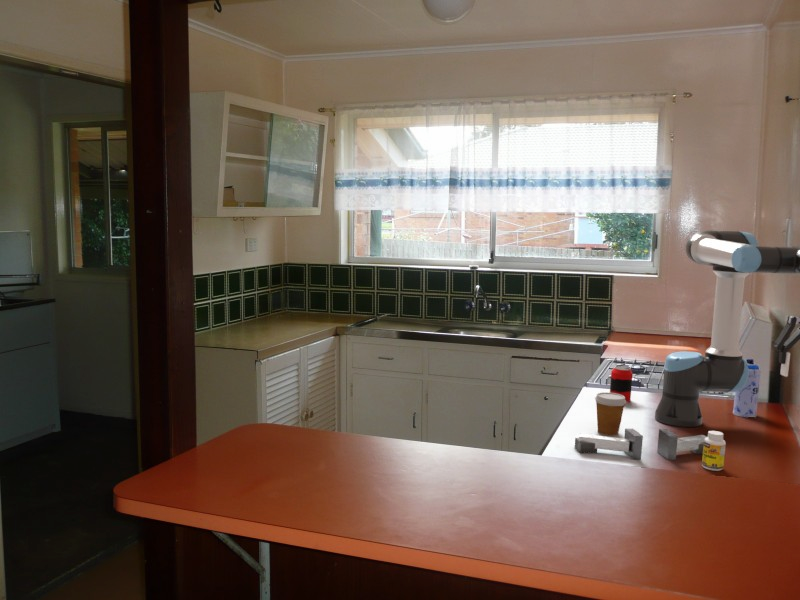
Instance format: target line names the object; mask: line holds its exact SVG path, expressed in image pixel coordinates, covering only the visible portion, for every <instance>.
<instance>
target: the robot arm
mask: <svg viewBox="0 0 800 600" xmlns="http://www.w3.org/2000/svg"><path fill="white" fill-rule="evenodd" d="M684 250H685V254H686V256H687V258H688V259H689V260H690V261H691V262H692V263H695V264H697V265H702V266H709V267H710V266H711V267H712V272H713V273H714V274H715V276H716V282H715V283H716V284H715V292H714V294H715V295H714V305H713V306H714V307H713V318H712V327H711V329H712V330H711V339H710V345H709V347H707V349H706V350H705V353H704V354H705V355H704V356H703V354H702V353H700V352H696V351H684V350H683V351H676V352H672V353H670V354H668V355H667V356H666V357H665V362H664V366H663V380H662V381H663V382H662V395H661V398H660V400H659V403H658V405H657V407H656V408H655V413H654V419H655V420H656V421H658V422H659V423H661V424H666V425H669V426H674V427H684V428H693V427H699V426H702V424H703V414H702V411H701V407H700V402H699V398H700V392H707V393H708V392H710V393H711V392H713V393H714V392H715V393H726V394H727V393H735V392H737V391H740V390H741V389H742V388H743V387H744V386H745V384H746V382H747V379H748V375H749V368H748V363H747V361H746V360H747V359H745V358H743V353H742V352H741V351H740V349H739V346H740V345H739V344H740V332H741V321H742V313H743V311H742V310H743V301H744V291H745V278H746V277H747V276H749V275H750V274H753V273H756V274H760V273H761V274H762V273H763V274H781V275H782V274H784V275H785V274H787V275H800V246H766V245H764V246H763V245H760V244H759V242H758V240H757V238H756V236H755V235H754V234H752V233H751V232H746V231H739V230H736V231H733V230H713V229H712V230H710V229H707V230H702V231H698V232H696V233H694V234H693V235H690V237H689V238H688V240H687V241H686V243H685V249H684ZM798 323H799V324H800V316H799V317H797V316H793V315H789V316H788V317H787V320H786V324H785V325H784V327H783V328H782V330H781V332H780V333H779V335H778V336H777V338H776V339H775V342H774V343H773V344H772V347H773V349H775V350H777V351H779V353H778V355H779V356H778V362H779V364H781V365H780V370H779V371H780V373H779V375H781V376H783V377H785V378H787V377H789V371H790V370H789V368H790V360H791V352H789V351H790V350H791V349H792V348H793V346H794V345H796V343H798V342H799V341H800V325H799V326H797V328H796V329H795V327H796V325H798ZM794 329H795V331H794ZM793 331H794V332H793Z"/></svg>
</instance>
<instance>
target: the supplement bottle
mask: <svg viewBox="0 0 800 600" xmlns="http://www.w3.org/2000/svg"><path fill="white" fill-rule="evenodd" d="M726 444H727V443H726V440H724V433H723V432H722V431H717V430H708V432H707V438H705V439H704V448H703V454H702V459H701V460H702V461H701V466H702V468H704V469H706V470H708V471H714V472H720V471H723V469H724V464H725V453H726V447H727V445H726Z"/></svg>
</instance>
